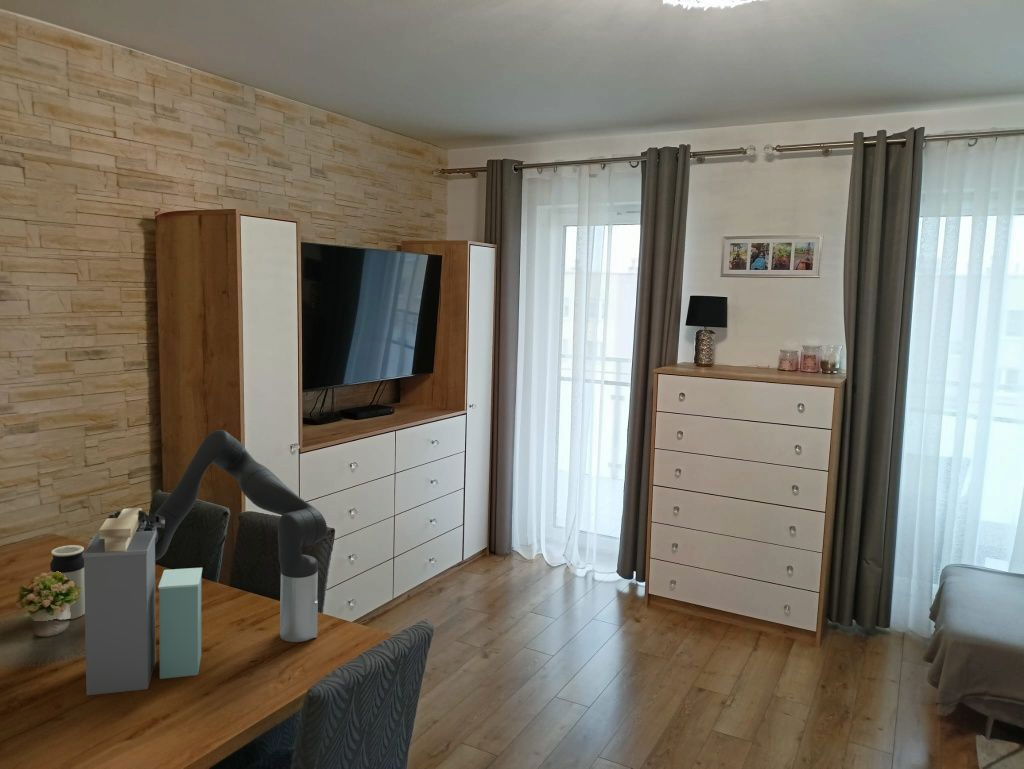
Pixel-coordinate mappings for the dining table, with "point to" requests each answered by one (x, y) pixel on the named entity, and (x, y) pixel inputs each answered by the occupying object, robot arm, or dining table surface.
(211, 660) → the dining table surface
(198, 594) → the tall pale green pillar
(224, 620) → the dining table surface
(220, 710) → the dining table surface
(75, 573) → the travel mug
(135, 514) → the beige stepped bar
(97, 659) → the stand
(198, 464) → the robot arm
